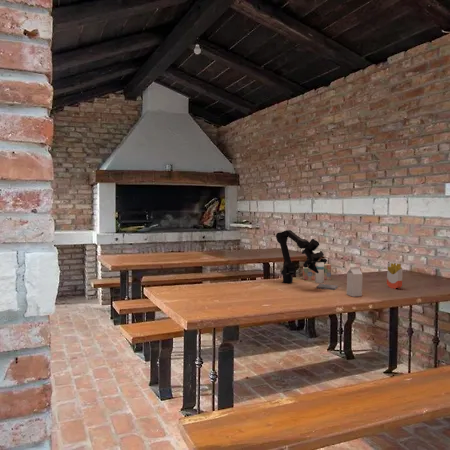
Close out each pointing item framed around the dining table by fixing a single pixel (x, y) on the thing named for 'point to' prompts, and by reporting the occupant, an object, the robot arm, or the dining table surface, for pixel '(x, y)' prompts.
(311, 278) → the stack of blocks
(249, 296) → the dining table surface
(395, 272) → the french fries container
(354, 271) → the milk carton
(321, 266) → the banded post
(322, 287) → the slate tile
